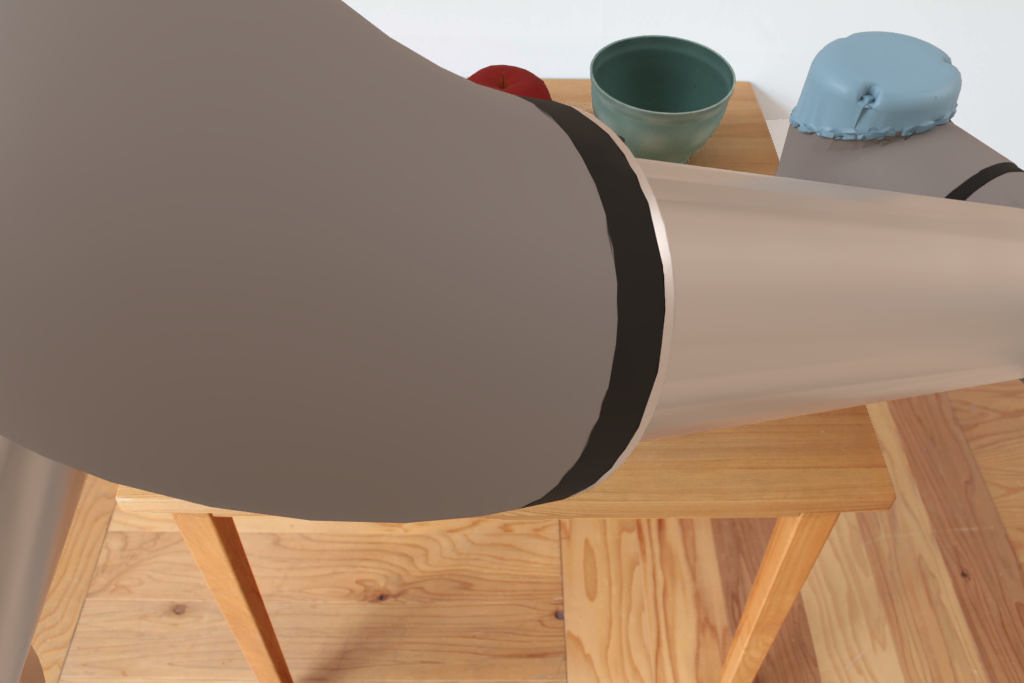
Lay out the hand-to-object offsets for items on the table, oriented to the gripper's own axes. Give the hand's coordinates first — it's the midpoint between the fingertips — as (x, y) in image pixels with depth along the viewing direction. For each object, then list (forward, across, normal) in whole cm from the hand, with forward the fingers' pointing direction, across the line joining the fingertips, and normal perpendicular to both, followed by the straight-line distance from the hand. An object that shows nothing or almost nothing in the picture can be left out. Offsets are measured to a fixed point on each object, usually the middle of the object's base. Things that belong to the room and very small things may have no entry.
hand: (385, 134), depth 65 cm
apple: (+6, +30, -24) cm, 39 cm away
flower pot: (-9, +39, -24) cm, 47 cm away
